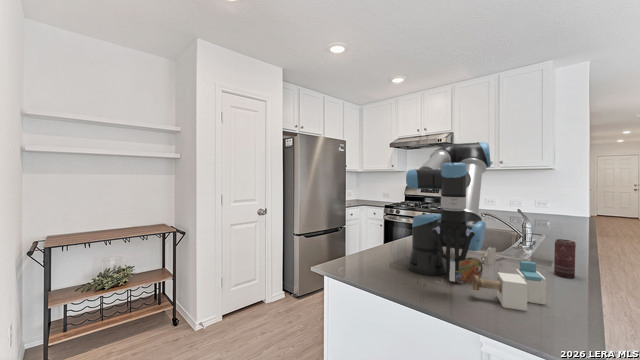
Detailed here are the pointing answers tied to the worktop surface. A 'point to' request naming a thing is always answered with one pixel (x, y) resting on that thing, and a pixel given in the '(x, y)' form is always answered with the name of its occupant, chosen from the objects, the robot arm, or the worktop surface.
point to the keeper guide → (535, 289)
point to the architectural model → (489, 256)
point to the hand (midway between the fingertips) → (452, 279)
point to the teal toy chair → (529, 270)
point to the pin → (485, 283)
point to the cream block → (512, 291)
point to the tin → (468, 270)
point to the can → (564, 258)
